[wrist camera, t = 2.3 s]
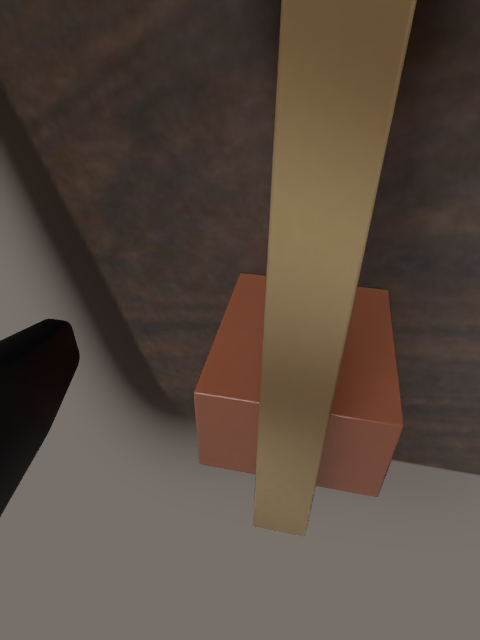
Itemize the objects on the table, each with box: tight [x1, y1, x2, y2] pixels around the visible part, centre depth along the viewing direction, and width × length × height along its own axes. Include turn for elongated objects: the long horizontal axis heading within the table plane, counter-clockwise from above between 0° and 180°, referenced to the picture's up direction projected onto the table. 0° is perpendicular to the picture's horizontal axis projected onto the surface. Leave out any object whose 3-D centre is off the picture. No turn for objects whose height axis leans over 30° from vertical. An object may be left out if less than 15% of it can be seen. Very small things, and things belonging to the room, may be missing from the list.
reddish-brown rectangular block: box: [194, 273, 404, 497], centre depth 13 cm, size 3×5×6 cm, turn 89°
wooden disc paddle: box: [253, 0, 417, 536], centre depth 9 cm, size 16×5×7 cm, turn 179°
